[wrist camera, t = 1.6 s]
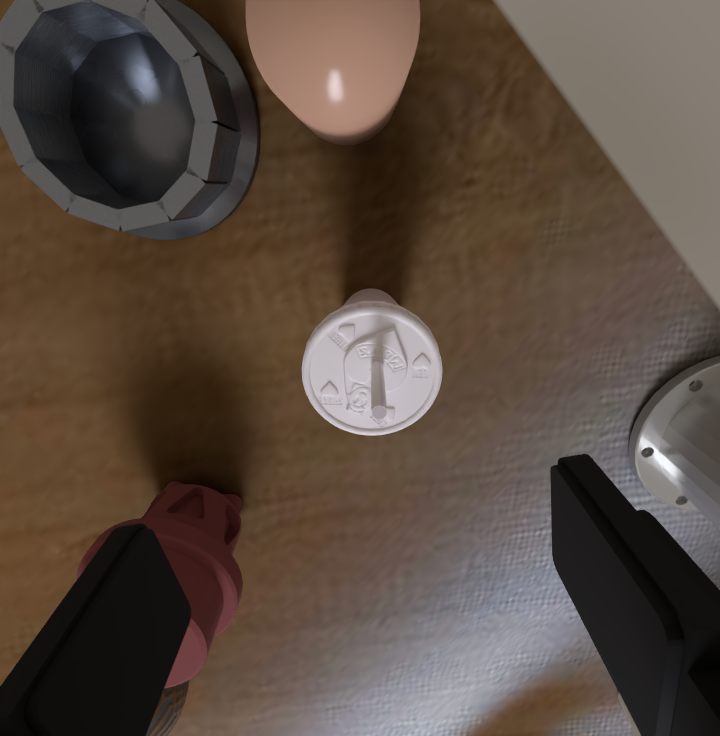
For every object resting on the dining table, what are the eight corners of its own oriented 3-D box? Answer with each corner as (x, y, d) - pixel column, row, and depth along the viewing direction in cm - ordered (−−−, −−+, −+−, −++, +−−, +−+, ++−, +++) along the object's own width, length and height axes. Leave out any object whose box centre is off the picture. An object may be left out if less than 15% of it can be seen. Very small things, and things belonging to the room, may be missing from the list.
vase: (190, 687, 43) (148, 801, 35) (121, 670, 42) (63, 783, 34) (205, 644, 41) (165, 757, 33) (133, 625, 40) (73, 736, 32)
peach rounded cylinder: (391, 0, 22) (406, -117, 13) (408, 133, 24) (430, 103, 16) (277, 29, 22) (222, -68, 14) (304, 155, 24) (271, 138, 16)
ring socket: (222, -35, 21) (183, -94, 17) (284, 217, 26) (266, 223, 21) (2, 23, 22) (-89, -19, 18) (99, 255, 27) (45, 268, 22)
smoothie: (436, 291, 27) (499, 382, 14) (394, 375, 30) (414, 520, 17) (343, 250, 26) (320, 308, 13) (307, 340, 29) (258, 464, 16)
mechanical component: (215, 571, 37) (116, 506, 34) (291, 506, 34) (188, 430, 32) (148, 741, 26) (-8, 662, 23) (252, 665, 23) (87, 565, 20)
